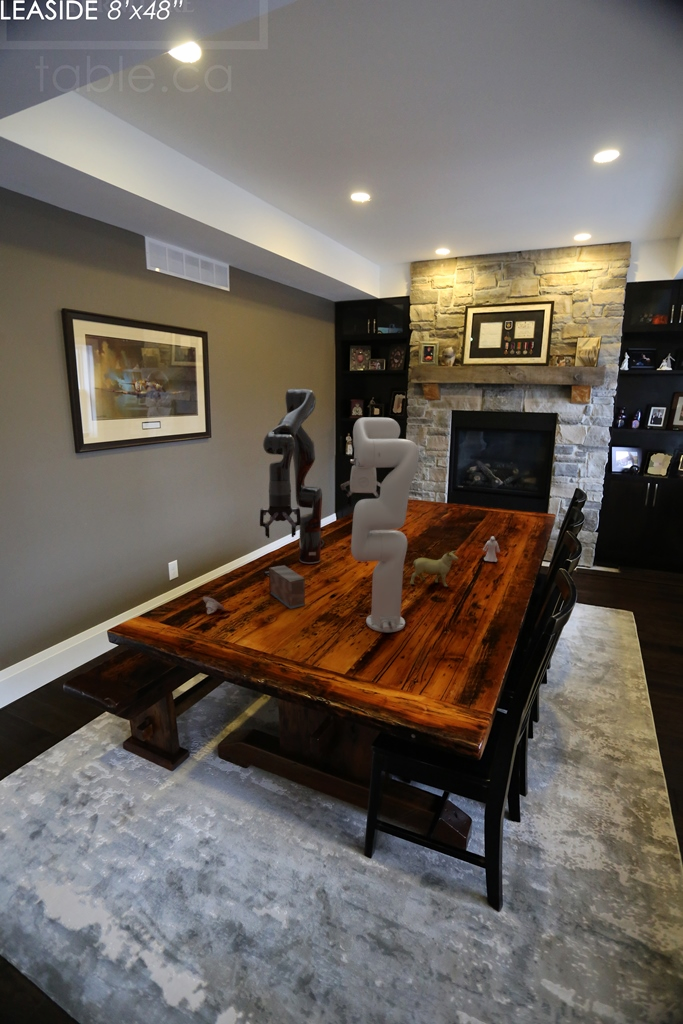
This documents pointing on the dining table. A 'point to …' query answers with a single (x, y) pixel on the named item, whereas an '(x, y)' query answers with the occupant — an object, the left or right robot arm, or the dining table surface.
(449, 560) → the toy
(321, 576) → the dining table surface
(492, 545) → the figurine
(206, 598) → the seashell
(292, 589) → the cabinet
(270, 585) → the drawer
